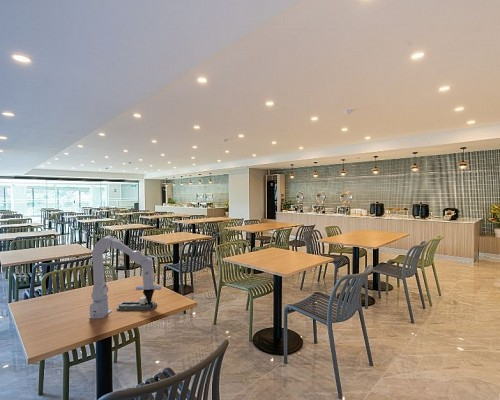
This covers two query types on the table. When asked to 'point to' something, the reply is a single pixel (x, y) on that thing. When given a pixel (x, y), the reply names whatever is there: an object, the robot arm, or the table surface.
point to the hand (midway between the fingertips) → (149, 302)
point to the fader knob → (143, 300)
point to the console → (136, 306)
